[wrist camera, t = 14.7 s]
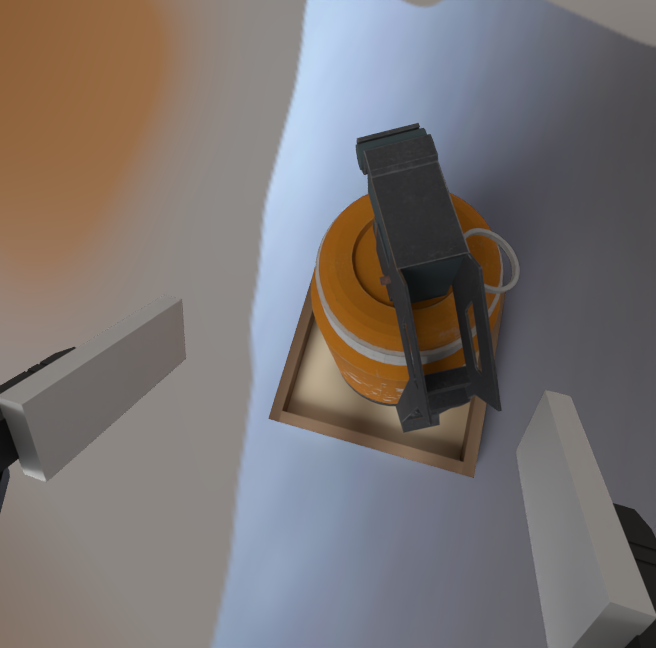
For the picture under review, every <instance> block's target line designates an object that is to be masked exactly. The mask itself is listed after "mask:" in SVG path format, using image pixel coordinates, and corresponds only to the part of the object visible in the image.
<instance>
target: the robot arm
mask: <svg viewBox="0 0 656 648" xmlns="http://www.w3.org/2000/svg"><path fill="white" fill-rule="evenodd" d="M185 359H186V354H185V339H184V324H183V307H182V299H180V298H176V297H172V296H167V295H163V296H161V297H160V298H158V299H156V300H155V301H153V302H152V303H150V304H148V305H147V306H145V307H143V308H142V309H140V310H138V311H137V312H135V313H133V314H132V315H130V316H129V317H127V318H125V319H123V320H122V321H120V322H118V323H117V324H115V325H114V326H112V327H110V328H109V329H107V330H105V331H104V332H102V333H100V334H99V335H97V336H96V337H94V338H92V339H91V340H89V341H87V342H86V343H84V344H82V345H80V346H79V347H77V348H75V347H72V348H70V349H66V350H63V351H61V352H58V353H55V354H53V355H52V356H50V357H48V358H46V359H45V360H43V361H42V362H40V364H36V365H35V366H33V367H31V368H29V369H28V371H27V372H25V371H24V372H23V373H21V374H19V375H17V376H16V377H14V378H12V379H11V380H9V381H7V382H6V383H4V384H2V385H0V512H1V508H2V504H3V501H4V497H5V493H6V489H7V485H8V482H9V477H10V474H9V469H8V466H10V465H11V464H12V463H14V462H15V461H16V460H17V459H19V461H20V464H21V467H22V470H23V473H24V474H26V475H29V476H31V477H34V478H37V479H39V480H42V481H44V482H47V481H49V479H51V478H52V477H53V476H54V475H55V474H56V473H58V472H59V471H60V470H61V469H62V468H63V467H64V466H65V465H67V464H68V463H69V462H70V461H71V460H72V459H73V458H74V457H76V456H77V455H78V454H79V453H80V452H81V451H82V450H83V449H85V448H86V447H87V446H88V445H89V444H90V443H91V442H93V441H94V440H95V439H96V438H97V437H98V436H99V435H100V434H101V433H103V432H104V431H105V430H106V429H107V428H108V427H109V426H111V424H113V423H114V422H115V421H116V420H117V419H119V418H120V417H121V416H122V415H123V414H124V413H125V412H126V411H128V409H130V408H131V407H132V406H133V405H134V404H135V403H137V402H138V401H139V400H140V399H141V398H142V397H143V396H144V395H146V394H147V393H148V392H149V391H150V390H151V389H152V388H153V387H155V386H156V384H158V383H159V382H160V381H161V380H162V379H164V378H165V377H166V376H167V375H168V374H169V373H170V372H171V371H173V370H174V369H175V368H176V367H177V366H178V365H179V364H180V363H182V362H183V361H184V360H185ZM516 455H517V461H518V467H519V474H520V480H521V486H522V492H523V498H524V504H525V510H526V516H527V522H528V528H529V534H530V540H531V546H532V552H533V559H534V565H535V571H536V577H537V583H538V589H539V595H540V601H541V607H542V613H543V619H544V625H545V631H546V637H547V644H548V648H656V538H655V536H654V533H653V531H652V530H651V528H650V527H649V526H648V525H647V524H646V522H645V521H644V520H643V519H642V518H641V516H640V515H639V514H638V513H637V512H636V511H635V509H632V508H628V507H625V506H621V505H618V504H614V503H612V501H611V498H610V496H609V493H608V490H607V488H606V485H605V483H604V480H603V478H602V475H601V473H600V470H599V467H598V465H597V462H596V460H595V457H594V455H593V452H592V450H591V447H590V444H589V442H588V439H587V437H586V434H585V432H584V429H583V427H582V424H581V422H580V419H579V416H578V414H577V411H576V409H575V406H574V404H573V401H572V399H571V396H568V395H564V394H560V393H556V392H552V391H548V390H545V391H544V393H543V395H542V397H541V399H540V401H539V404H538V406H537V408H536V410H535V412H534V414H533V416H532V418H531V421H530V423H529V425H528V427H527V429H526V431H525V433H524V435H523V438H522V440H521V442H520V444H519V446H518V448H517V450H516Z"/></svg>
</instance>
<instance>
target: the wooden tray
mask: <svg viewBox="0 0 656 648" xmlns="http://www.w3.org/2000/svg"><path fill="white" fill-rule="evenodd" d="M312 277H313V276H312ZM311 282H312V279H311ZM505 294H506V292H503V293H501V298H500V309H499V312H498V316H497V320H496V323H495V325H494V327H493V329H492V332H491V338H492V345H493V352H494V358H495V352H496V346H497V340H498V335H499V329H500V323H501V317H502V311H503V306H504V300H505ZM476 359H477V364H478V368H479V370H480V371H481V372H482V369H481V362H480V355H479V350H478V351H477V352H476ZM463 366H466V364H464V365H463ZM486 404H487V403H486V402H484V401H483V400H482V399H480V398H479V397H477V396H476V395H475V396H473V397H471V401H470V402H468V403H466V404H464V405H462V406H460V407H455V408H450V409H448V410H447V411H445V412H443V413H441V414H440V425H438V426H433V427H428V428H424V429H419V430H414V431H410V432H405V433H403V430H402V426H401V423H400V420H399V416H398V413H397V410H396V406H385V405H380V404H377V403H374V402H371V401H369V400H367V399H365V398H363V397H362V396H360V395H359V394H358V393H356V392H355V391H354V390H353V389H352V388H351V387H350V386H349V385H348V384H347V383H346V381H345V380H344V378H343V377H342V375H341V373H340V371H339V369H338V367H337V365H336V362H335V360H334V358H333V356H332V354H331V352H330V350H329V348H328V346H327V344H326V342H325V339H324V337H323V335H322V333H321V331H320V329H319V327H318V325H317V323H316V320H315V316H314V313H313V310H312V302H311V283H310V286H309V289H308V292H307V296H306V299H305V302H304V305H303V308H302V312H301V315H300V318H299V321H298V325H297V328H296V331H295V334H294V338H293V341H292V344H291V347H290V351H289V354H288V357H287V360H286V364H285V367H284V370H283V373H282V376H281V380H280V383H279V386H278V389H277V393H276V396H275V399H274V402H273V406H272V409H271V412H270V415H269V419H271V420H275V421H278V422H282V423H285V424H289V425H292V426H296V427H299V428H303V429H306V430H310V431H313V432H317V433H320V434H323V435H327V436H330V437H334V438H337V439H341V440H344V441H348V442H351V443H355V444H358V445H362V446H365V447H368V448H372V449H375V450H379V451H382V452H386V453H389V454H393V455H396V456H400V457H403V458H407V459H410V460H414V461H417V462H420V463H424V464H427V465H431V466H434V467H438V468H441V469H445V470H448V471H452V472H455V473H459V474H462V475H465V476H469V477H472V478H474V474H475V468H476V462H477V456H478V451H479V445H480V439H481V433H482V427H483V422H484V416H485V410H486Z"/></svg>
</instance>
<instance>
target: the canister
mask: <svg viewBox="0 0 656 648" xmlns="http://www.w3.org/2000/svg"><path fill="white" fill-rule="evenodd" d="M419 127H420V126H419V123H416V124H412V125H408V126H404V127H400V128H396V129H392V130H388V131H384V132H380V133H376V134H372V135H368V136H364V137H360V138H357V145H356V154H357V159H358V164H359V167H360V170H362V172H363V174H364V175H367V174H368V194H367V195H365V196H363V197H361V198H359V199H358V200H356V201H355V202H353V203H352V204H351V205H349V206H348V207H347V208H346V209H345V210H344V211H343V212H342V213H341V214H340V215H339V216H338V217H337V218H336V219H335V220H334V222H333V223H332V224H331V225H330V227H329V228H328V230H327V232H326V233H325V235H324V237H323V239H322V242H321V244H320V247H319V249H318V254H317V259H316V266H315V269H314V273H313V277H312V282H311V302H312V310H313V313H314V316H315V320H316V323H317V325H318V327H319V329H320V331H321V333H322V335H323V337H324V339H325V342H326V344H327V346H328V348H329V350H330V352H331V354H332V356H333V358H334V360H335V362H336V365H337V367H338V369H339V371H340V373H341V375H342V377H343V378H344V380H345V381H346V383H347V384H348V385H349V386H350V387H351V388H352V389H353V390H354V391H355V392H356V393H358V394H359V395H360V396H362V397H363V398H365V399H367V400H369V401H371V402H374V403H377V404H380V405H385V406H396V410H397V413H398V416H399V420H400V423H401V426H402V430H403V433H405V432H410V431H414V430H419V429H424V428H428V427H433V426H438V425H440V414H441V413H443V412H445V411H447V410H448V409H450V408H455V407H460V406H462V405H464V404H466V403H468V402H470V401H471V397H473V396H475V395H476V396H477V397H479V398H480V399H482V400H483V401H484V402H486V403H487V404H489V405H490V406H492V407H493V408H494V409H496V410H497V411H501V404H500V396H499V389H498V382H497V374H496V367H495V360H494V352H493V345H492V338H491V332H492V329H493V327H494V325H495V323H496V320H497V316H498V312H499V309H500V298H501V293H503V292H506V291H508V290H509V289H511V288H512V287H514V285H515V284H516V283H517V281H518V278H519V274H520V267H519V262H518V259H517V257H516V255H515V253H514V251H513V249H512V248H511V246H510V245H509V244H508V243H507V242H506V241H505V240H504V239H503V238H502V237H501V236H499V235H498V234H496V233H494V232H492V231H491V229H490V227H489V226H488V224H487V223H486V222H485V220H484V219H483V217H482V216H481V215H480V214H479V213H478V212H477V211H476V210H475V209H474V208H473V207H472V206H470V205H469V204H468V203H466V202H465V201H464V200H462V199H460V198H459V197H457V196H455V195H453V194H451V193H449V191H448V188H447V185H446V182H445V179H444V177H443V174H442V171H441V168H440V165H439V162H438V154H437V151H436V148H435V145H434V142H433V139H432V137H431V134H428V135H427V133H426V130H425V129H424V128H421V129H419ZM498 244H499V245H500V246H501V247H502V249H503V250H504V251H505V252H506V254H507V256H508V258H509V260H510V263H511V267H512V276H511V280H510V281H509V283H508V284H507V285H506V286H504V287H502V284H503V262H502V256H501V252H500V249H499V245H498ZM478 350H479V355H480V362H481V369H482V372H481V371H480V370H479V368H478V364H477V359H476V352H477V351H478ZM464 364H466V366H463V365H464Z"/></svg>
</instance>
